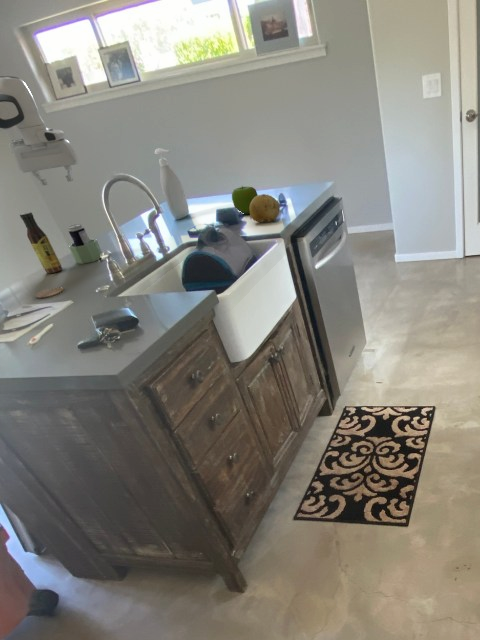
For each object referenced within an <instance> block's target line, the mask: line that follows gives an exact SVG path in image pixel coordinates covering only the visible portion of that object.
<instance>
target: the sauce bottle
mask: <svg viewBox="0 0 480 640" xmlns="http://www.w3.org/2000/svg"><path fill="white" fill-rule="evenodd" d="M19 217H20V219H21V220H22V221H23V223H24V225H25V228H26V234H27V238H28V241H29V243H30V245H31V247H32V249H33V251H34V253H35V255H36V257H37V259H38V260H39V262H40V265H41V266H42V268H43V269H44V271H45V273H46V274H48V275H49V274H55V273H58V272H61V271H62V270H63V267H62V263H61V261H60V259H59V258H58V255H57V253H56V251H55V250H54V248H53V245H52V244H51V242H50V238H49V237H48V235H47V234H46V233H45V232H44V231H43V229H42V228H41V227H39V225H38V223H37V222H36V219H35V217H34V214H33V212H31V211H27V212H23V213H20V214H19Z"/></svg>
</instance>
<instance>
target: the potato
mask: <svg viewBox="0 0 480 640" xmlns="http://www.w3.org/2000/svg"><path fill="white" fill-rule="evenodd" d="M257 195H258V196H256V197H255V198H254V199H253V200H252V201H251V204H250V214H249V215H250V217H251V219H252V220H253V221H254V222H256V223H262V222H274V221H276V220H277V219H278V218H279V216H280V212H281V205H280V203H279V201H278V200H277V199H275V197H273V196H272V195H269V194H265V193H263V194H257Z"/></svg>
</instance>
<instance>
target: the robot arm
mask: <svg viewBox="0 0 480 640" xmlns="http://www.w3.org/2000/svg"><path fill="white" fill-rule="evenodd" d="M12 127H16V129H17V130H18V133H19V135H20V137H21V138H20V139H13V140H11V141H10V143H9V150H10V152H11V154H13V157H14V159H15V162H16V164H17V166H18V167H17V168H18V169H19V171H21V172H22V173H23V174H24V173H25V174H26V173H32V175H33V177H35V178H36V179H37V180H38V181H39V182H40V185H41V186H43V187H44V186H49V184H48V182H47V178H43V177H42V176H41V175H40V171H45V170H51V169H56V168H63V167H64V169H65V171H67V174H66V175H65V178H66V181H67V182H73V181H74V178H73V175H72V170H73V169H72V166H75V165H77V164H79V157H78V155H77V153H76V150H75V149H74V147H73V145H72V144H71V142H70V141H69V140H68V139H67V138H66V134H65V132H64V131H63V130H61V129H56V128H55V129H54V128H50V127H47V125H46V123H45V121H44V120H43V118H42V117H41V114H40V112H39V108H38V105H37V104H36V101H35V99H34V97H33V95H32V93H31V91H30V89H29V88H28V86H27V84H26V82H24V80H23V79H21V78H20V77H18V76H11V75H0V131H7V130H10V129H12Z"/></svg>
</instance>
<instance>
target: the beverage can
mask: <svg viewBox="0 0 480 640" xmlns="http://www.w3.org/2000/svg"><path fill="white" fill-rule="evenodd" d="M67 229H68V233H69V236H70V237H71V240H72V242H73V243H74V244H75V246H76V247H78V246H83V245H87V244H89V243H91V242H90V240H89V239H90V237H89V236H88V233H87V231H86V229H85V227H83V225H82V224H81V223H78V224H73V225H72V224H71V225H70V226H68V227H67Z"/></svg>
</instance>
